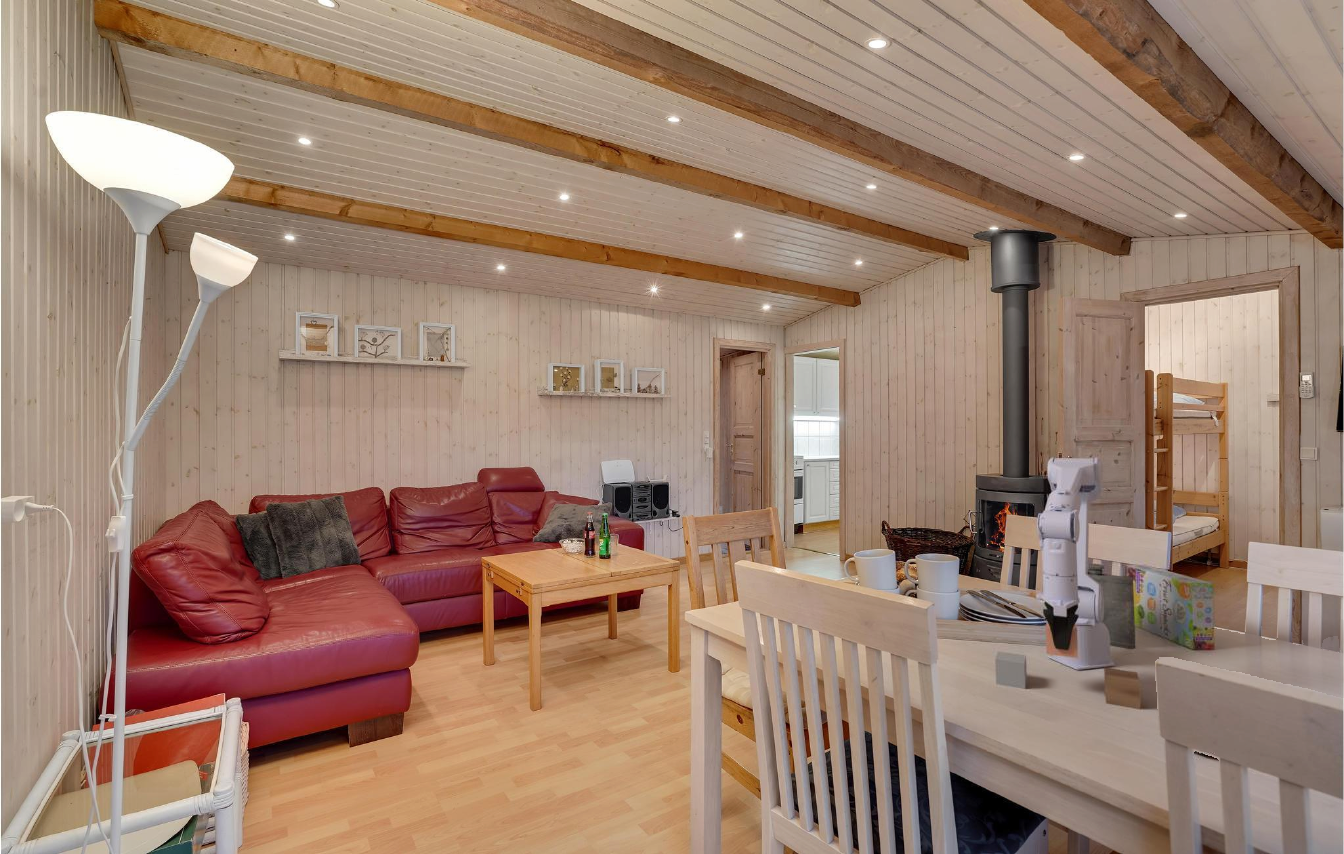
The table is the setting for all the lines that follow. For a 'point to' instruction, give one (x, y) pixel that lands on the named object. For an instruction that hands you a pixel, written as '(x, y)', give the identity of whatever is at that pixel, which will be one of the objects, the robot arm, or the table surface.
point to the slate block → (1011, 670)
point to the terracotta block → (1052, 650)
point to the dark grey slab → (1116, 606)
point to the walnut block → (1122, 688)
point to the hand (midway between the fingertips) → (1062, 644)
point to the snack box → (1173, 606)
